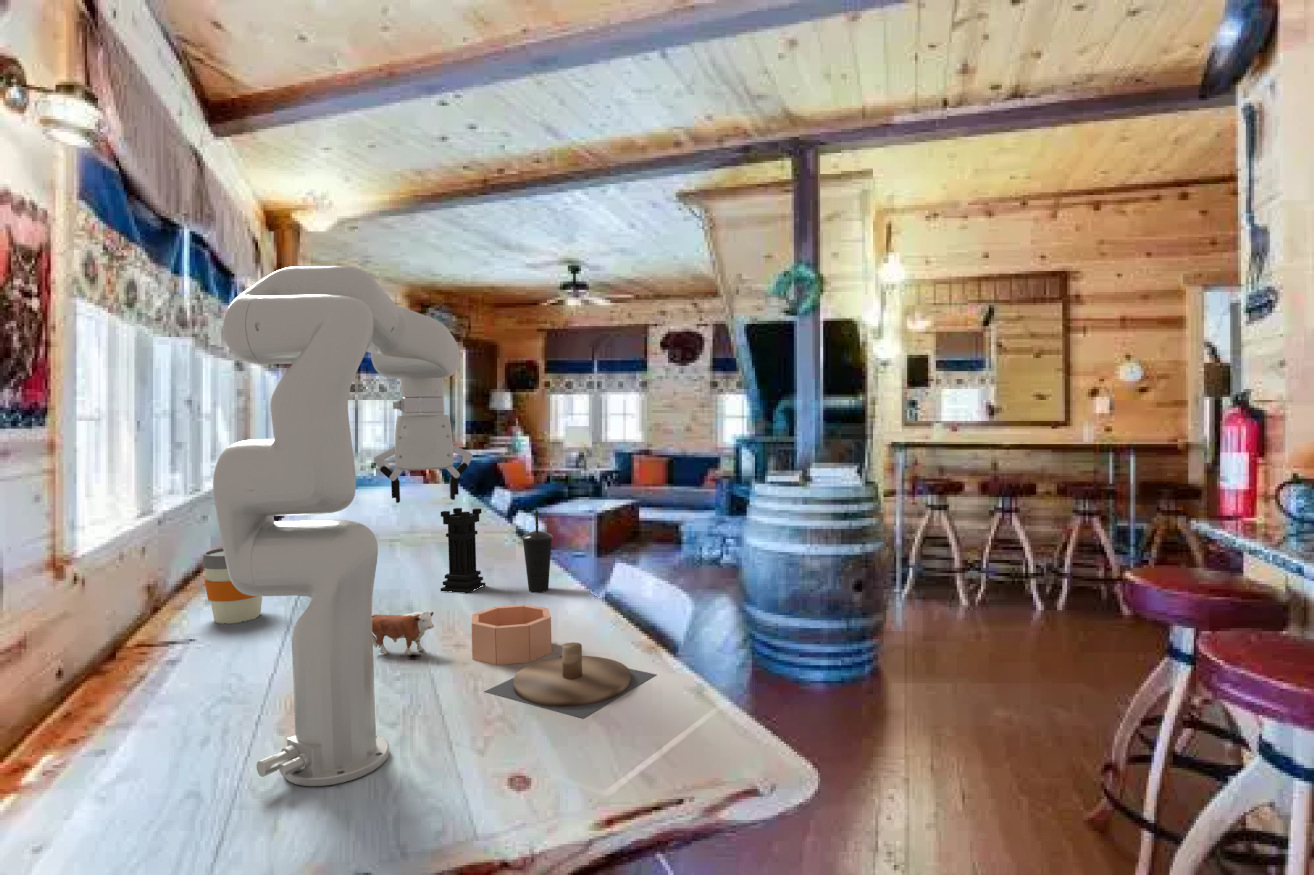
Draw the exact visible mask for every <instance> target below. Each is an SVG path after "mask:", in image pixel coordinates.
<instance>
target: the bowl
mask: <svg viewBox="0 0 1314 875" xmlns="http://www.w3.org/2000/svg"><path fill="white" fill-rule="evenodd" d="M552 648H553V647H552V617H551V612H550V609H549V608H546V607H543V606H542V607H541V606H536V605H529V604H517V605H504V606H503V605H502V606H501V605H500V606H493V607H491V608H487V609H484V610H481V611H478V612H476V613H472V615H471V651H472V652H471V655H472V656H471V657H472V660H474V661H477V662H482V663H486V664H490V665H493V666H494V665H495V666H499V665H510V664H511V665H512V664H514V665H515V664H523V663H531V662H533V661H536V660H538V659H540V658H542V657H544V656H546V655H549V654H551V653H552V650H553V649H552Z"/></svg>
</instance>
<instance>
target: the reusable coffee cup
mask: <svg viewBox="0 0 1314 875" xmlns="http://www.w3.org/2000/svg"><path fill="white" fill-rule="evenodd" d="M201 566H202V568H203V569H204V574H205V578H204V585H205V592H206V596H207V599H208V601H210V605H211V611H212V616H213V621H214V623H216V624H224V623H226V624H237V623H243V622H242V621H244V622H247V621H246V620H249V619H252V620H254V619H257V618H259V617H260V616H261V613H262V602H263V596H250V595H246V594H243V593H241V592H240V591H238V590H237V589H236V588H235V587H234V585H233V584H232V582H231V580H230V577H229V574H228V570H227V566H226V561H225V556H224V550H223V547H221V548H214V549H210V550H207V551H205V552H203V554H202V564H201ZM259 615H260V616H259ZM258 616H259V617H258ZM256 617H257V618H256ZM249 621H250V620H249Z"/></svg>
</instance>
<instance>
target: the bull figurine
mask: <svg viewBox="0 0 1314 875" xmlns="http://www.w3.org/2000/svg"><path fill="white" fill-rule="evenodd" d="M433 615H434V611H431V612H430V613H429V611H426V610H424V611H422V612H421V611H414V612H411V613H407V614H395V615H394V614H372V634H373V647H374V648H379V649H380V653H381V654H383V655H384V656H388V655H390V652H389V651H388V650H387V648H386V647H385V645H384V639H385V636H386V637H388V638H389V639H392V640H393V643H396V642H398V641H397V640H399V639H405V641H406V642H405V643H406V649H405V651H404V653H405V654H406V655H407V656H412V655H413V653H412V650H411V646H412V644H413V642H415V644H416V650H417V651H418V652H424V651H425V649H424V648H423V646H422V645H421V638H422V637H423V636H424V635H425V632H426V631H428V630H431V629H434V627H435V625H434V623H433V622H432V617H433Z"/></svg>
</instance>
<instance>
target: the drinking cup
mask: <svg viewBox="0 0 1314 875" xmlns="http://www.w3.org/2000/svg"><path fill="white" fill-rule="evenodd" d="M534 512H535V514H534V516H535V530H533V531H530V532H527V533H525V534H524V535H522V536H521V540H522V544H523V552H524V560H525V561H524V562H525V568H526V577H527V586H528V592H530V591H531V592H530V593H534V592H539V593H544V592H543V591H545V592H547V591H546V590H548V591H549V585H550V566H551V555H552V553H551V552H552V540H553V536H554V535H553V534H552V533H549V532H546V531H543V530H539V510H537V509H536V510H535V511H534Z"/></svg>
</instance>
